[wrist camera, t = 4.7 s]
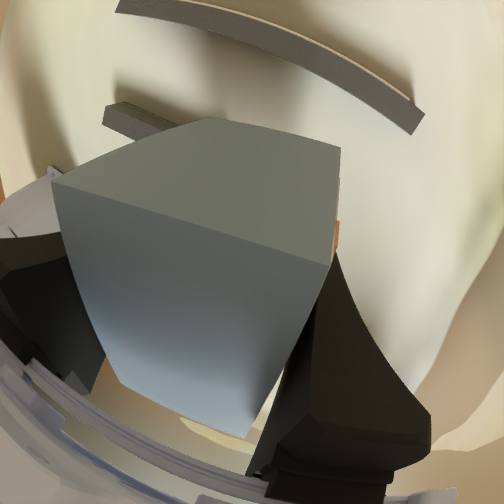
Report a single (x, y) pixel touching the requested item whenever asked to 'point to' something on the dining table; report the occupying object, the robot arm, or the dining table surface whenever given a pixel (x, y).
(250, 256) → the carton
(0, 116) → the dining table surface
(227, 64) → the dining table surface
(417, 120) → the price rail
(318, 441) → the robot arm
